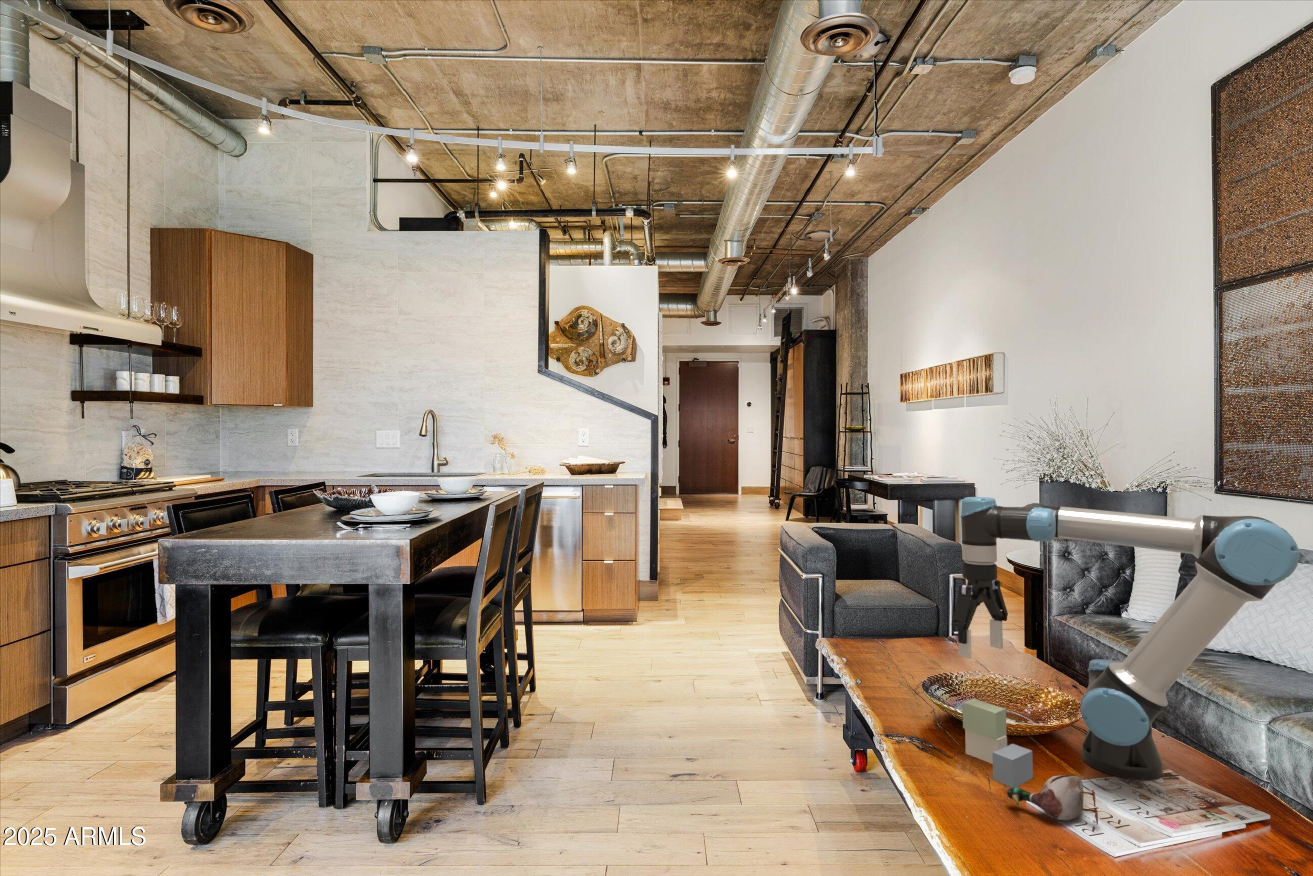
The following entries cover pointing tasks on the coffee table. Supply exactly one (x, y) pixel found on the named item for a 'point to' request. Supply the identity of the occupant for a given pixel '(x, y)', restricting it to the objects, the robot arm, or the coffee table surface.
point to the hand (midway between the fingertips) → (981, 652)
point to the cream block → (983, 745)
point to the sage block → (984, 718)
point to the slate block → (1012, 765)
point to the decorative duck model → (1057, 797)
